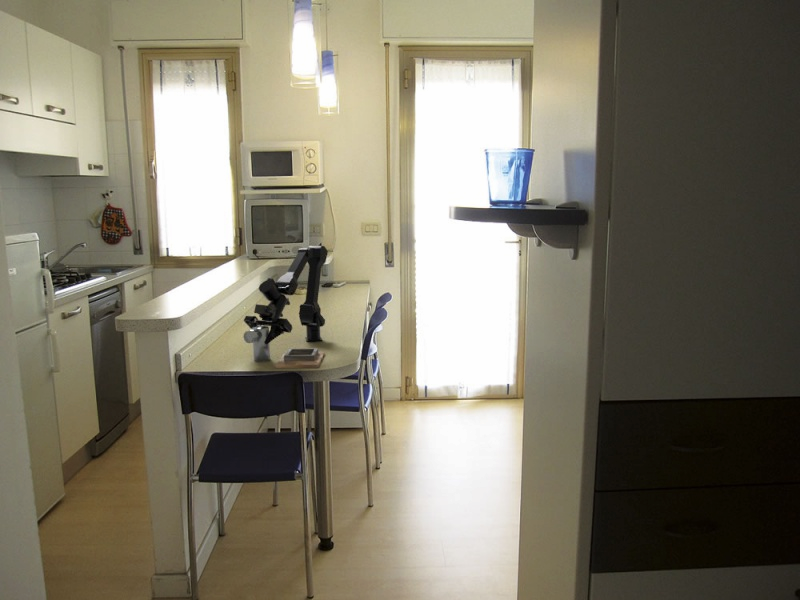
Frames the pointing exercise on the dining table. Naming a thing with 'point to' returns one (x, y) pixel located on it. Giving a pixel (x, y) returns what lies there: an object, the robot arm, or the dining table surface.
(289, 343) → the dining table surface
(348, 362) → the dining table surface
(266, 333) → the duct elbow
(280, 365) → the base
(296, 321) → the dining table surface
